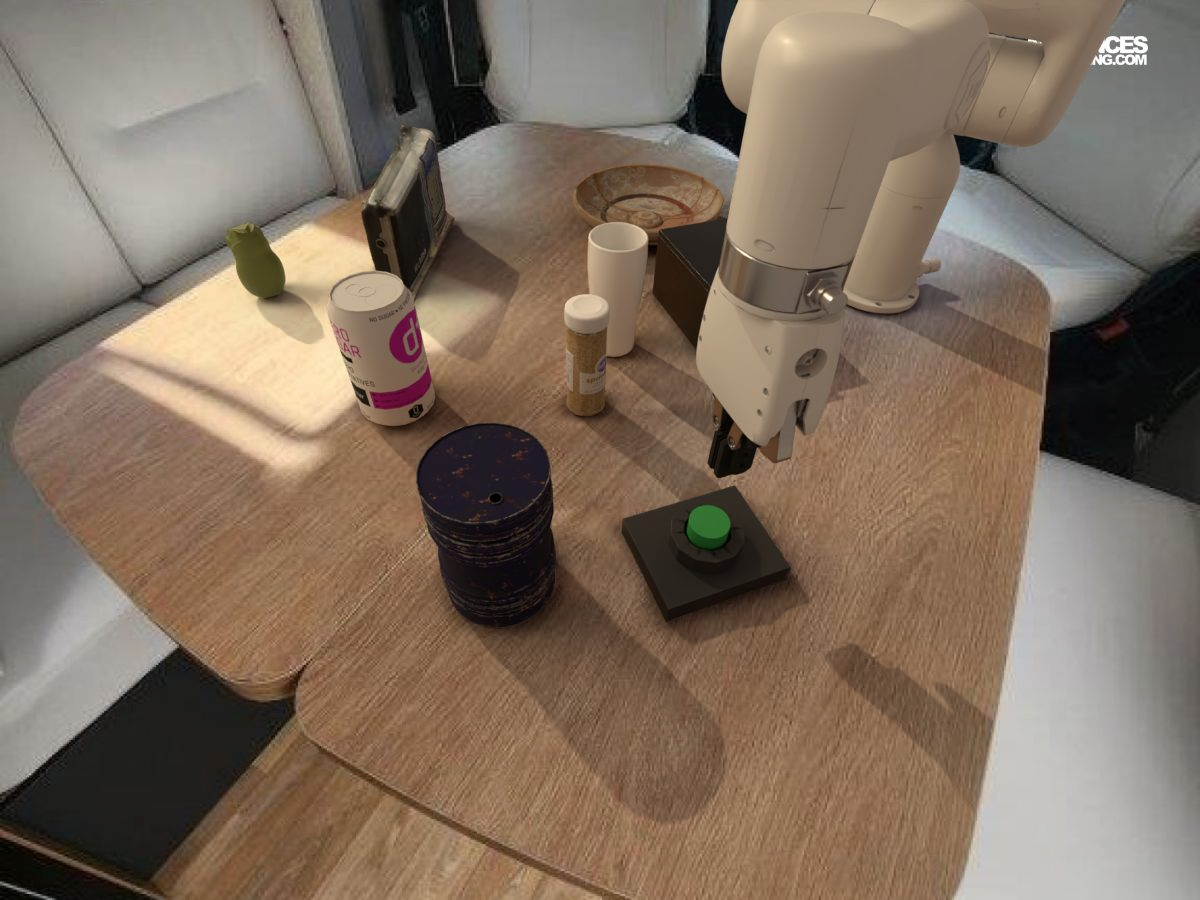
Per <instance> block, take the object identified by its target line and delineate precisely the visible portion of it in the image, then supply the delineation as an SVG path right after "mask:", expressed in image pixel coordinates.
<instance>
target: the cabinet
mask: <svg viewBox="0 0 1200 900" xmlns="http://www.w3.org/2000/svg"><path fill="white" fill-rule="evenodd" d="M727 220H728V217H724V218H718V219H717V220H712V221H706V222H700V223H694V224H688V225H683V226H677V227H671V228H665V229H659V235H658V243H657V245H656V254H655V263H654V271H653V273H654V274H653V284H652V295H653V296H654V298H655V299H656V300H657V301H658V303H659V304H660V305H661V307H663V309H664V310H665V311H666V314H668V316H669V317H670V318H671V319H672V321H673V322H674V323H675V324H676V326H677V327H678V328H679V330H680V331H681V332H682V333H683V335H684V336H685V338H687V340H688V341H689V342H690V344H691V345H692V347H693V348H694V349H695V350H696V351H697V344H698V337H699V332H700V327H701V323H702V318H703V314H704V310H705V307H706V303H707V299H708V296H709V293H710V289H711V286H712V283H713V280H714V277H715V275H716V272H717V269H718V267H719V263H720V258H721V253H722V247H723V242H724V237H725V231H726V227H727Z"/></svg>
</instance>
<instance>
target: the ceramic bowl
mask: <svg viewBox="0 0 1200 900" xmlns="http://www.w3.org/2000/svg"><path fill="white" fill-rule="evenodd" d="M572 202H573V206H574V209H575V212H576V213H577V214H578V216H579V217H580V219H581V220H582V221H583V222H584V223H585V224H586V225H587V226H588V227H590V228H591V229H593V228H595V227H597V226H599V225H601V224H605V223H611V222H622V223H628V224H632V225H635V226H638V227H640V228H641V229H643V230H644V231H645V232H646V233H647V235H648V246H657V243H658V235H659V229H665V228H671V227H677V226H683V225H688V224H694V223H700V222H706V221H712V220H718V219H719V217H720V215H721V213H722V210H723V206H724V203H725V201H724V196H723V194H722V192H721V190H720V189H719V188H718V187H717V186H716V185H715V184H714V183H713V182H711V181H710V180H709V179H707V178H705V177H704V176H702V175H699V174H697V173H694V172H692V171H690V170H687V169H686V170H685V169H683V168H678V167H673V166H668V165H667V166H666V165H662V164H661V165H660V164H650V163H649V164H644V163H643V164H641V163H638V164H637V163H636V164H635V163H634V164H623V165H617V166H611V167H607V168H604V169H601V170H598V171H595V172H592V173H590V174H588V175H587V176H585V177H584V178H583V179H581V180H580V181H579V182H578V183H577V184H576V186H575V188H574V190H573V193H572Z"/></svg>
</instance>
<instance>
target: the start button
mask: <svg viewBox="0 0 1200 900" xmlns="http://www.w3.org/2000/svg"><path fill="white" fill-rule="evenodd" d="M730 525H731V524H730V519H729V517H728V515H727V514H726V513H725V512H724V511H723V510H721V509H720V508H718V507H715V506H710V505H704V506H700V507H697V508H696V509H694V510H693V511H692V512H691V514H690V517H689V521H688V526H687V535H688V538H689V539H690V541H691V542H692V543H693V544H694V545H695V546H697V547H699V548H702V549H706V550H713V549H717V548H719V547H721V546H722V545H723V544H724V543H725V542H726V540H727V536H728V533H729V530H730Z"/></svg>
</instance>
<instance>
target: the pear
mask: <svg viewBox="0 0 1200 900" xmlns="http://www.w3.org/2000/svg"><path fill="white" fill-rule="evenodd" d="M225 243H226V245H227V247H229V249H230V250H231V252H232V255H233V257H234V260H235V271H236V275H237V277H238V279H239V281H240V283H241V285H242V286H243V288H244V289H245V290H246V291H247V292H249V293H250V294H251V295H253V296H254V297H258V298H260V299H261V298H263V299H266V298H272V297H275V296H277V295H279V294H280V293H281V292H283V290H284V288H285V286H286V279H287V278H286V272H285V268H284V264H283V263H282V261H281V259H280V258H279V255H277V254H276V253H275V252H274V251H273V249H272V247H271V245H270V242H269V241H268V239H267V237H266V236H265V234H264V232H263V230H262V229H261V228H260V227H258V226H256V225H255V223H253V222H252V221H251V222H249V221H248V222H245V223H243V224H239V225H235V226H232V227H228V228H227V229H226V237H225Z"/></svg>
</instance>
